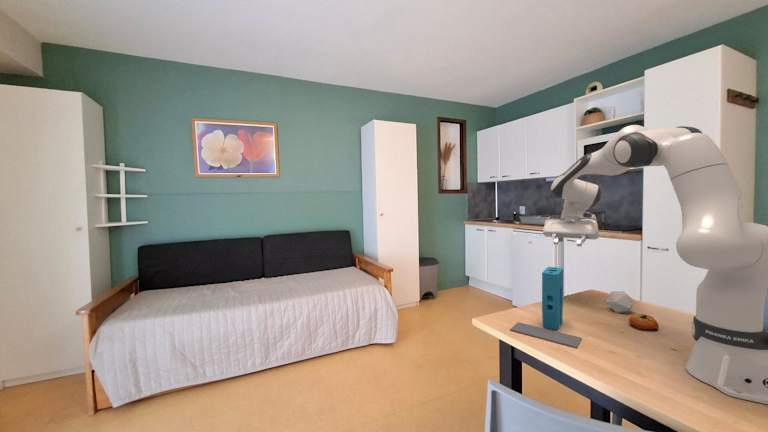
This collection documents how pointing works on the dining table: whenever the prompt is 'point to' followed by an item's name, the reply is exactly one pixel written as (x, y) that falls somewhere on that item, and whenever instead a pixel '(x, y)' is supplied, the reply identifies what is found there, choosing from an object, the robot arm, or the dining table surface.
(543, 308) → the block
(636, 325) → the tomato
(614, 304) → the die
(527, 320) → the dining table surface
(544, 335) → the mat
